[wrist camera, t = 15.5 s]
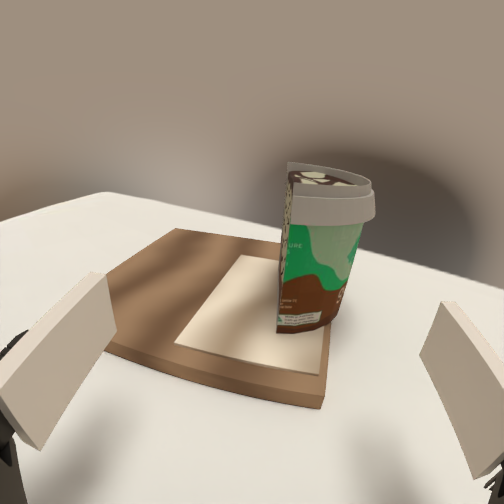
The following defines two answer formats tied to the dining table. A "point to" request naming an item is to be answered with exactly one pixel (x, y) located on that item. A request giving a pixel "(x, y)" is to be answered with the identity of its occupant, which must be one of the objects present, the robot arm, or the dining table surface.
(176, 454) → the dining table surface
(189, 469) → the dining table surface
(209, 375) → the board
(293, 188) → the food container
